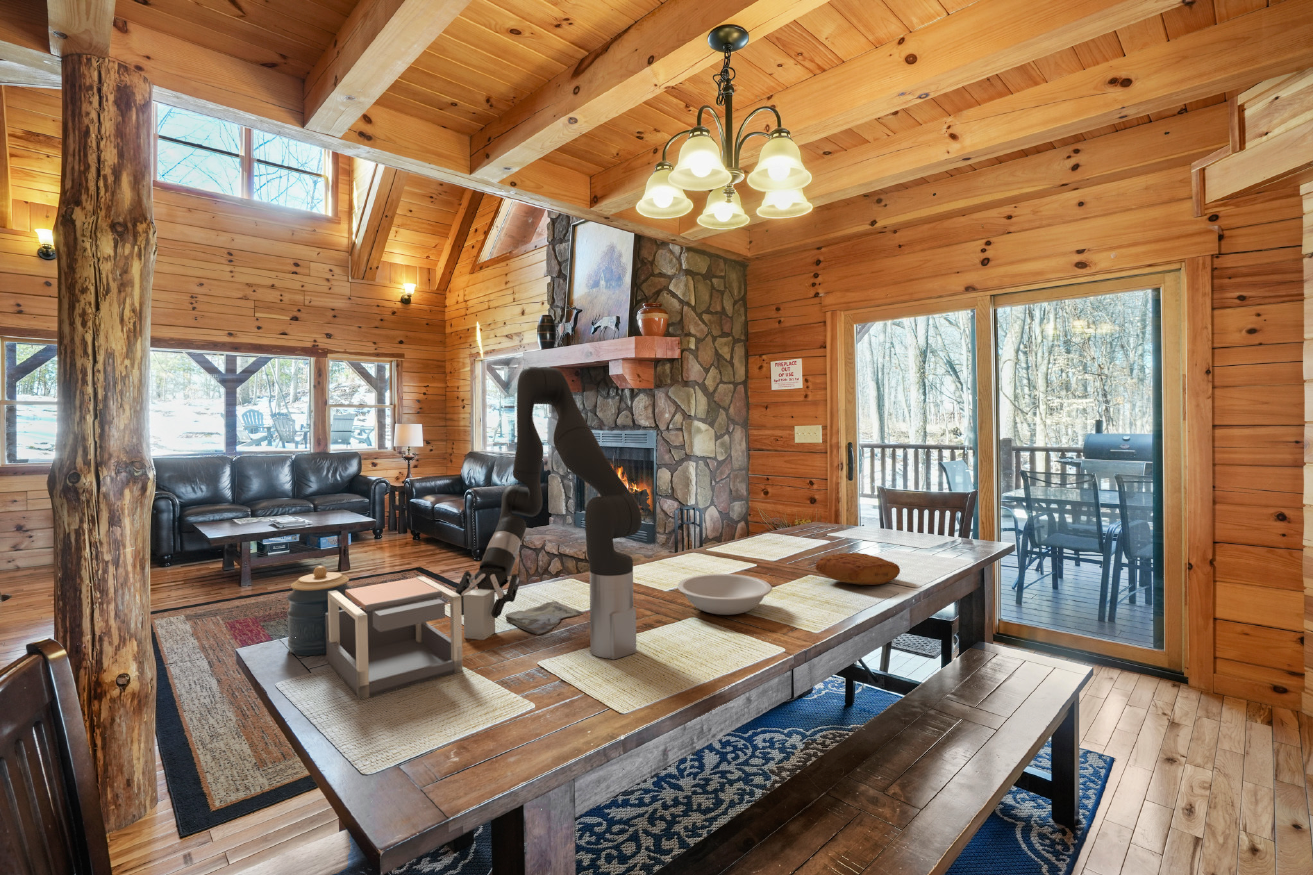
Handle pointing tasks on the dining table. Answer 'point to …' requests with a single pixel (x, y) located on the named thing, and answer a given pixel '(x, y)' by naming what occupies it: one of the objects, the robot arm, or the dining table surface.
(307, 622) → the canister
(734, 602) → the soup bowl
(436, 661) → the frame
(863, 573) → the bread loaf
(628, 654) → the robot arm
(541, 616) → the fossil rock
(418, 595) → the trapdoor
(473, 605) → the beige rectangular block
